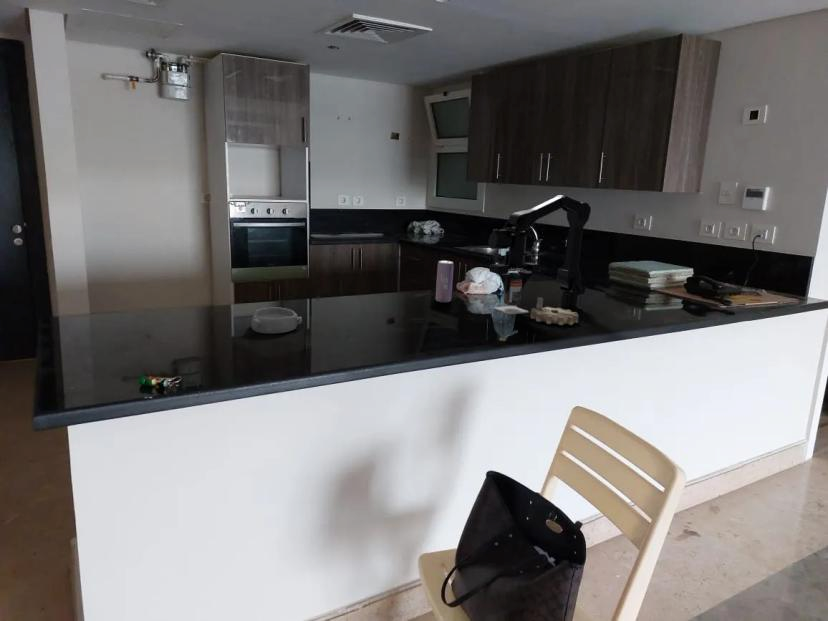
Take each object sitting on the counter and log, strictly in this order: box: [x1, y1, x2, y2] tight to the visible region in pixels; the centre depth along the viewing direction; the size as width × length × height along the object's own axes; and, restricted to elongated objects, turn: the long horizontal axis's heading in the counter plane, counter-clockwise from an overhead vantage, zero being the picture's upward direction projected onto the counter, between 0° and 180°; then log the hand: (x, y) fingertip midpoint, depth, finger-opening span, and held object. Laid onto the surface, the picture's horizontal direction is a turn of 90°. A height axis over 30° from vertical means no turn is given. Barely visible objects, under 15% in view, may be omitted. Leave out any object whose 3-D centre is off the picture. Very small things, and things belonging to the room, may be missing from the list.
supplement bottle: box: [503, 272, 523, 307], centre depth 206 cm, size 6×6×11 cm
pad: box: [493, 305, 529, 315], centre depth 208 cm, size 9×9×1 cm
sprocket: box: [530, 296, 579, 326], centre depth 196 cm, size 16×16×7 cm
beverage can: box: [435, 260, 454, 303], centre depth 216 cm, size 6×6×15 cm
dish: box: [250, 306, 303, 334], centre depth 168 cm, size 14×14×5 cm
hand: (512, 291), depth 206 cm, fingers closed on supplement bottle, 6 cm apart
